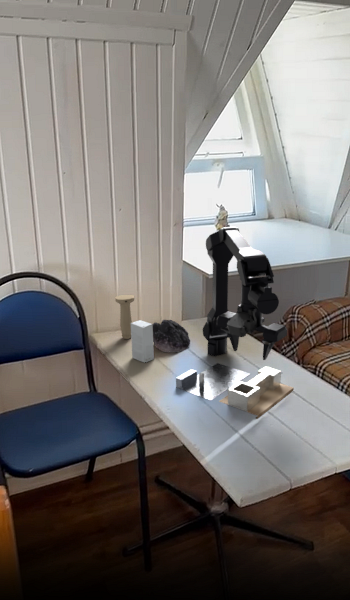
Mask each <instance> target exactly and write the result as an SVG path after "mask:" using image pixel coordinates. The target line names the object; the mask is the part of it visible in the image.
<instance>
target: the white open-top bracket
mask: <svg viewBox="0 0 350 600" xmlns="http://www.w3.org/2000/svg"><path fill="white" fill-rule="evenodd" d="M254 377H255V376H254ZM254 377H252V378H251V379H252V380H251V379H250V380H248V381H249V382H248V381H247V382H244V381H242V380H241V381H239V382H238V383H236V384H235V385H233V386H232V387H230V388H229V389H227V395H228V405H227V406H230V407H233V408H236V409H238V410H240V411H243V412H246V413H249V412H248V411H249V410H250V409H252V408H253V407H254V406H256V405H257V404H258V403H259V401H260V396H261V395H262V394H263V393H265V392H266V391H267V390H272V391H273V390H275V389H276V388H277V387H279V386H280V383H281V380H282V370H279V369H276V368H272V367H270V366H266V365H265V366H264V367H262V368H260V369H259V370H257V375H256V377H255V378H254ZM281 384H282V383H281Z"/></svg>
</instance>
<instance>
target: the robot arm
mask: <svg viewBox="0 0 350 600" xmlns="http://www.w3.org/2000/svg"><path fill="white" fill-rule="evenodd" d="M205 249H206V251H207V255H208V257H209V258H210V260H211V262H212V307H211V309H210V310H209V311H208V313H207V315H206V322H205V323H204V325H203V327H202V336H203V337H204V338H205V340H206V341H207V355H208V356H211V357H217V356H223V355H225V354H226V353H227V351H228V339H229V341H230V344H231V346H232V349H233V351H234V352H237V351H238V348H239V342H240V338H244V337H245V336H247V334H251V335H252V334H253V333H254V331H255V332H260V333H262V337H263V338H262V339H261V341H262V343H263V349H262V359H263V361H266V360H267V358H268V356H269V354H270V353H271V351H272V349H273V347H274V345H275V344H276V343H278V342H279V341H281V340H283V339H284V338H285V337H287V335H288V329H287V327H286V325H283V324H279V323H275V322H273V323H270V324H268V325H265V324H263V323H265V317H263V315H270V314H273V313H274V312H275V311H276V310H277V309H278V306H279V302H280V300H279V296H278V295H276V293H274V292H273V291H272V290H273V288H272V286H271V285H269V284H274V283H275V282H274V277H275V275H274V273H273V270H272V265H271V262H270V260H269V258H268V257H267V255H266V254H265V253H264V252H262V251H261V250H259V249H256V248H253V247H252V246H251V245H250V244H249V243H248V242H247V240H246V239H245V237H244V236H243V235H242V234H241V233H240V229H239V227H238V226H237V227H236V226H227V227H226V226H225V227H224V226H223V227H222V228H220V229H218V230H217V231H215V232H213V233H211V234H209V236H207V238H206V240H205ZM233 258H235V259H236V261H237V262H236V270H237V273H238V276H239V280H240V281H241V282H240V283H241V284H240V286H241V287H240V304H238V305H237V308H236V312H233V311H229V309H228V306H229V304H228V303H229V302H228V301H229V296H228V295H229V264H230V262H232V261H231V260H232V259H233Z"/></svg>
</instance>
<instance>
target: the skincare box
mask: <svg viewBox="0 0 350 600" xmlns="http://www.w3.org/2000/svg"><path fill="white" fill-rule="evenodd" d="M130 340H131V356H132V359H134V360H137V361H139V362H142V363H145V362H146V363H147V362H151V361H152V360H154V359H155V356H154V354H155V353H154V352H155V351H154V349H155V348H154V342H153V323H150V322H148V321H144V320H141V319H139V320H136V321H132V323H131V338H130Z"/></svg>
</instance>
